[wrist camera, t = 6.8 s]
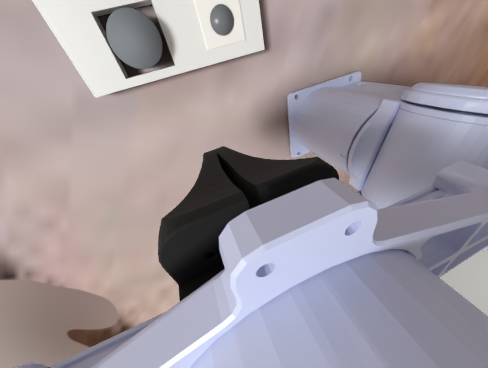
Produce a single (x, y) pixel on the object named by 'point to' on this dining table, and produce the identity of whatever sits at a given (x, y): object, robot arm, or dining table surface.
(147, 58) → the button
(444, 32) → the dining table surface
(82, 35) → the button board
